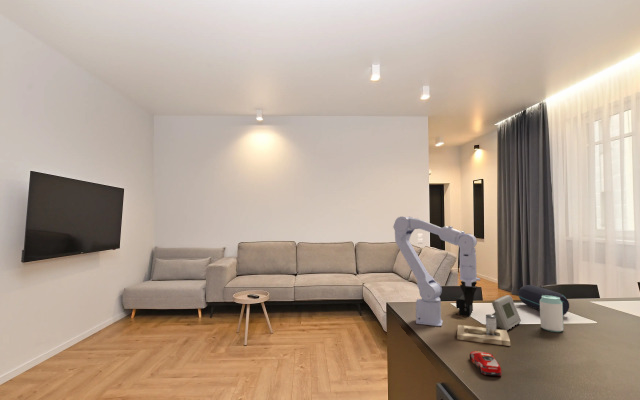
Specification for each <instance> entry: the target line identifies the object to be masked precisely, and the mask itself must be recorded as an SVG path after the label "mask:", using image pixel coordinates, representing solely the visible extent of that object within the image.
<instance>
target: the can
mask: <svg viewBox="0 0 640 400" xmlns="http://www.w3.org/2000/svg"><path fill="white" fill-rule="evenodd" d="M541 297H542V298H541V299H540V310H539V317H540V318H539V319H540V327H541V328H542V329H543V330H544V331H547V332H552V333H560V332H563V331H564V330H565V328H564V315H563V305H562V302H561V300H560V298H559V297H556V296H541Z"/></svg>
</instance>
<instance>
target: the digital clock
mask: <svg viewBox="0 0 640 400" xmlns="http://www.w3.org/2000/svg"><path fill="white" fill-rule="evenodd" d="M491 306H492V308H493V310H494V312H493V313H491V315H495V316H496V328H499V327H500V328H499V329H501V330H507V331H509V329H510V330H511V329H513V328H514V327H516V326H517V325H518V324H520V323H521V322H522V319H521V317H520V314H519V311H518V308H517V307H516V305H515V302H514V299H513V297H512V296H511V295H509V294H507V295H502V296H501V297H498V298H496V299H495V300H493V301H492V302H491ZM515 325H516V326H515ZM512 327H513V328H512Z"/></svg>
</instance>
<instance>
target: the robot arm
mask: <svg viewBox="0 0 640 400" xmlns="http://www.w3.org/2000/svg"><path fill="white" fill-rule="evenodd" d="M392 227H393V228H392V229H393V230H394V241H395V244H396V245H397V248H398V249H399V251H400V253H401V254H402V256H403V258H404V259H405V261H406V263H407V265H408V266H409V268H410V270H411V271H412V273H413V275H414V278H415V279H416V286H417V289H418V292H419V297H421V299H419V298H417V299H416V300H415V323H416V324H417V325H426V326H433V327H434V326H435V327H442V325H443V319H442V309H441V301H442V300H441V298H440V296H441V294H442V293H443V288H442V285H441V284H440V283H439V282H437V281H436V280H435V279H434V276H432V275H431V274H430V273H429V272H428V271H427V269H426V267H425V265H424V264H423V261H422V260H421V259H420V257H419V255H418V253H417V252H416V250H415V248H414V246H413V245H412V243H411V242H410V239H411V236H412V234H413V233H414V231H415V230H423V231H425V232H428V233H432V234H434V235H437V236H438V237H439V239H440V240H441V241H444V242H446V243H449V244H452V245H454V246H458V248H459V280H460V283H461V284H459V286H460V288H461V291H462V295H464V298H465V303H466V305H472V304H473V303H474V297H475V294H476V293H475V292H476V290H477V288H478V286H476V285H477V283H478V282H479V281H481V278H480V277H477V275H478V273H477V253H476V245H477V244H478V240H477V238H476V236H475V235H473V234H472V233H465V232H466V231H464V230H458V229H455V228H454V227H453V226H452V225H448V226H447V225H445V226H443V227H440V226H438V225H436V224H433V223H430V222H428V221H426V220H424V219H420V218H418V217H417V218H416V217H412V216H398V217H397V218H396V219H395V220H394V223H393V226H392ZM477 281H478V282H477ZM473 305H474V304H473Z"/></svg>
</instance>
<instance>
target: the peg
mask: <svg viewBox="0 0 640 400" xmlns="http://www.w3.org/2000/svg"><path fill="white" fill-rule="evenodd" d="M485 328H486V335H492V336H497V332H496V329H497V327H496V316H495V315H492V313H491V314H489V313H488V314H485Z"/></svg>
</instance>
